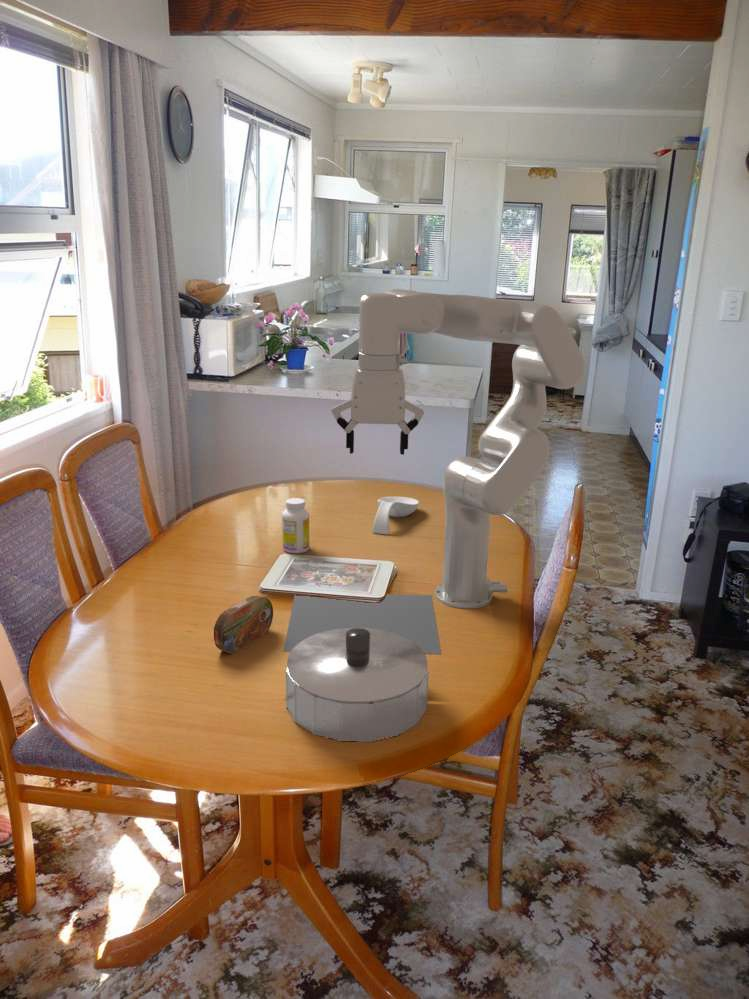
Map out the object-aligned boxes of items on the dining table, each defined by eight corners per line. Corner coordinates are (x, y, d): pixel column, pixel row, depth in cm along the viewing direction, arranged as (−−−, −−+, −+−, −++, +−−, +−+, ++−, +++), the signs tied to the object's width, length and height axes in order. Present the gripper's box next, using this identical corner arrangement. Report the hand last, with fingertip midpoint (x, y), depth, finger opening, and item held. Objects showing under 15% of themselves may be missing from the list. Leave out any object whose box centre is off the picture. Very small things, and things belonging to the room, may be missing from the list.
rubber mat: (431, 596, 180) (431, 595, 180) (441, 655, 155) (441, 654, 155) (295, 594, 179) (295, 592, 179) (283, 653, 155) (283, 651, 155)
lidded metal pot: (421, 666, 152) (424, 603, 147) (430, 743, 129) (434, 672, 125) (293, 663, 151) (292, 601, 147) (280, 741, 129) (279, 669, 125)
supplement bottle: (305, 543, 208) (305, 495, 204) (312, 553, 202) (312, 503, 198) (280, 545, 206) (279, 497, 202) (285, 555, 200) (285, 506, 196)
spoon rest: (383, 505, 238) (383, 481, 236) (422, 509, 235) (423, 485, 233) (360, 533, 217) (360, 507, 214) (403, 538, 214) (404, 512, 211)
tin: (224, 661, 152) (222, 620, 149) (211, 656, 153) (209, 616, 151) (275, 629, 164) (274, 591, 161) (262, 625, 165) (261, 587, 163)
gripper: (424, 360, 154) (420, 448, 159) (332, 358, 154) (332, 446, 159) (427, 367, 147) (423, 458, 152) (331, 365, 147) (330, 456, 152)
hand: (376, 452), depth 156 cm, fingers open, 9 cm apart
